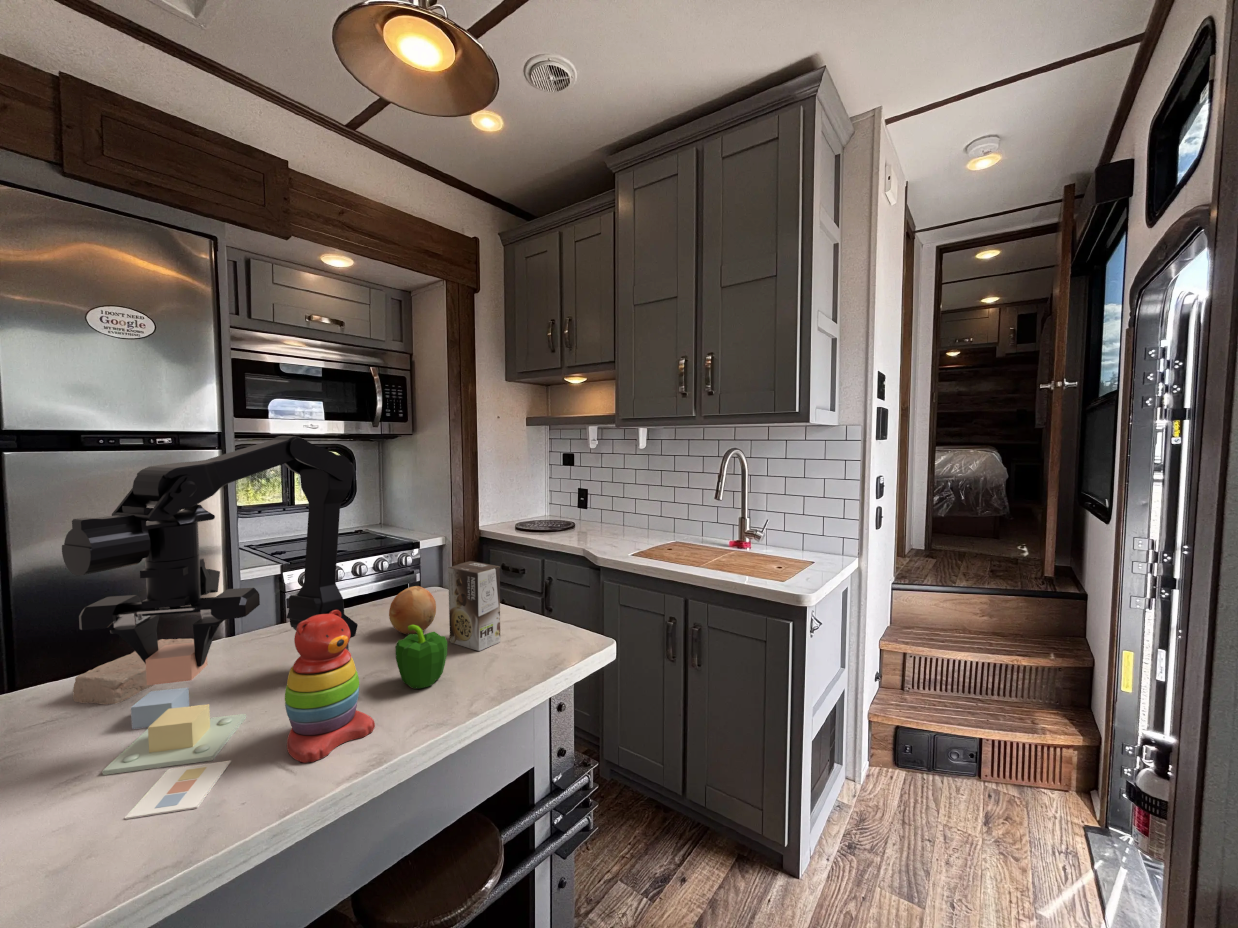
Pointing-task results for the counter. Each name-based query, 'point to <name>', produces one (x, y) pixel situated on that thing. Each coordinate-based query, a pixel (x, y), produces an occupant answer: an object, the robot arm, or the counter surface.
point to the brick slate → (157, 705)
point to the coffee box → (474, 604)
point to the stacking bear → (323, 690)
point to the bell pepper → (421, 657)
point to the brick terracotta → (173, 664)
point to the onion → (412, 609)
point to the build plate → (180, 755)
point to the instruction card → (179, 789)
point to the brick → (116, 678)
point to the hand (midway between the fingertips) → (178, 667)
